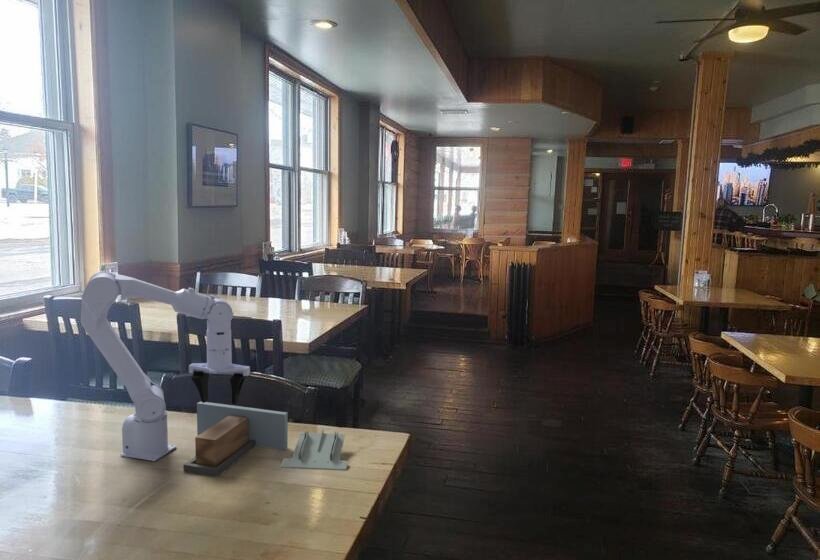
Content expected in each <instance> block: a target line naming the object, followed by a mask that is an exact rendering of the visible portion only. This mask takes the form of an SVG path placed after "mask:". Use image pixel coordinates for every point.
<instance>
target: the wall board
mask: <svg viewBox="0 0 820 560" xmlns="http://www.w3.org/2000/svg"><path fill="white" fill-rule="evenodd" d="M288 413H289V412H288V411H287V412H286V411H278V410H270V409H263V408H256V407H248V406H246V407H245V406H241V405H234V404H224V403H217V402H208V401H206V402H205V403H202V401H201V400H200V401H199V402H196V431H197V432H196V434H197V436H198V435H200V434H201V433H203V432H204V431H206V430H207V429H209V428H210V427H212V426H214V425H215V424H217V423H218V422H220V421H221V420H223V419H224V418H226V417H227V416H229V415H232V416H240V417H247V418H248V443H247V444H246V445H245V446H243V447H242V448H241V449H239V450H238V451H237V452H236V453H234V454H233V455H232V456H230V457H229V458H228V459H227V460H225V461H224V462H223V463H221V464H220V465H219V466H217V467H210V466H204V465H198V464H196V455H195V456H194V457H192V458H190V460H188V461H187V462H185V463H184V464H183V472H187V473H188V472H189V473H194V474H200V475H206V476H212V477H220V475H221V474H223V473H225V472H226V471H227V470H228V469H229V468H231V467H232V466H233V465H234V464H235V463H236V462H238V461H239V460H241V459H242V458H243V457H244V456H245V455H247V454H248V453H249V452H250V451H252V450H253V449H254V448H255V447H260V448H267V449H275V450H280V451H285V450H287V449H288V441H289V439H288V427H289V426H288V421H289V420H288V417H289V415H288Z"/></svg>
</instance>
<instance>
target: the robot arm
mask: <svg viewBox="0 0 820 560" xmlns="http://www.w3.org/2000/svg"><path fill="white" fill-rule="evenodd" d="M118 296H120V300H123V301H124V300H127V299H129V298H133V297H139V298H142V299H147V300H150V301H153V302H158V303H163V304H167V305H171V307H172V309H173V311H174V312H175V313H179V314H183V315H186V316H188V317H193V318H195V319H200V320H205V319H206V328H207V329H206V362H200V363H199V362H196V363H193V362H192V363H191V364H189V365H188V374H193V375H191V380H192V381H193V384H194V385H195V387H196V389H197V392H198V394H199V396H200V401H202V403H205V402H208V400H209V377H210V374H220V375H232V376H230V378H229V381H230V382H229V383H230V389H231V405H236V404H237V403H239V398H240V397H239V396H240V393H241V390H242V387H243V385H244V382H245V380H246V378H247V377H248V376H249V375H250V374H251V366H249V365H242V364H236V363H232V360H233V359H232V358H233V357H232V328H231V326H232V322H231V321H232V319H233V318H234V312H233V308H232V306H231V304H229V303H228V302H227V301H226V300H225V299H223V298H221V297H220V296H215V295H213V294H209V295H207V294H203V293H201V292H196V291H195V289H194V288H193V287H188V289H186V288H181V289H179V290H176V291H175V290H171V289H169V288H164V287H163V286H159V285H156V284H153V283H150V282H148V281H144V280H141V279H139V278H135V277H130V276H128V275H125V274H117V273H116V274H115V275H114V274H113V273H111V272H109V271H100V272H96V273H94V274H93V275H92V276H91V277H90V278H89V280H88V282H87V284H86V286H85V288H84V290H83V292H82V294H81V305H80V307H81V308H80V325H81V326H82V328H83V329H84V331H85V332H86V333H87V335H88V336H89V337H90V339H91V340H92V342H93V343H94V345H95V346H96V347H97V348H98V350H99V352H100V353H101V355H102V356H103V358H105V360H106V362H107V363H108V364H109V366H110V367H111V369H112V370H113V372H114V373H115V374H116V375H117V378H119V380H120V381H121V383H122V384H123V386H124V387H125V388H126V391H127V393H128V394H129V398H130V399H131V401H132V402H133V404H134V408H135V409H134V410H135V413H131V414H129V415H128V416H127V417H126V418H125V419H124V421H123V423H122V429H121V435H122V440H121V441H122V452H121V453H120V456H121V457H125V458H132V459H139V460H145V461H152V462H156V461H157V460H159V459H161V458H162V457H163V456H165V455H167V454H169V453H170V452H172V451H173V450H174V449H176V448H177V445H175V444H169V439H168V438H169V435H168V434H169V432H168V411H167V410H166V407H167V406H166V402H165V397H164V396H165V395H164V394H165V393H164V389H163V388H162V387H161V386H160V385H159V384H157V383H155V382H153V381H152V380H151V378H150V377H149V376H148V375H147V374H146V373H145V372H144V371H143V369H142V368H141V366H140V365H139V364H138V362H137V360H136V359H135V358H134V356H133V355H132V353H131V352H130V351H129V349H128V347H127V346H126V345H125V342H124V341H122V338H121V337H120V336H119V334H118V333H117V332H116V330H115V329H114V327H113V326H112V325H111V323H110V322H109V320H108V318H107V316H108V314H109V311H110V308H111V306H112V305H113V304H114V302H115V301H116V300H117V298H118Z"/></svg>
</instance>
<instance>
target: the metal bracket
mask: <svg viewBox="0 0 820 560" xmlns="http://www.w3.org/2000/svg"><path fill="white" fill-rule="evenodd" d="M345 437H346V435H345V433H339V432H338V431H334V433H327V432H326V433H325V432H324V428H322V430H321V433H320V432H309V430H306V429H305V430H304V432H300V433H299V436H298V439H297V442H296V445H295V448H294V451H293V455H292V457H291V458H287V457H286V458H283V459H282V461H281V465H280V468H281V469H290V470H292V469H295V470H296V469H299V470H300V469H303V470H304V469H306V470H328V471H334V472H335V471H338V472H344V471H347V470H348V468H347V467H348V463H349V461H348V460H341V456H342V452H343V446H344V442H345V441H344V440H345Z"/></svg>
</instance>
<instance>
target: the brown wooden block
mask: <svg viewBox="0 0 820 560" xmlns="http://www.w3.org/2000/svg"><path fill="white" fill-rule="evenodd" d="M194 442H195V448H194V449H195V456H196V464H198V465H204V466H210V467H217V466H219V465H220V464H221V463H223V462H224V461H225V460H227V459H228V458H229V457H230V456H232V455H233V454H234V453H236V452H237V451H238V450H239V449H241V448H242V447H243V446H245V445H246V444H247V443H248V418H247V417H240V416H232V415H229V416H227V417H226V418H224V419H223V420H221V421H220V422H218V423H217V424H215V425H214V426H212V427H210V428H209V429H207V430H206V431H204V432H203V433H201V434H200V435H198V436H195V441H194Z"/></svg>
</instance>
